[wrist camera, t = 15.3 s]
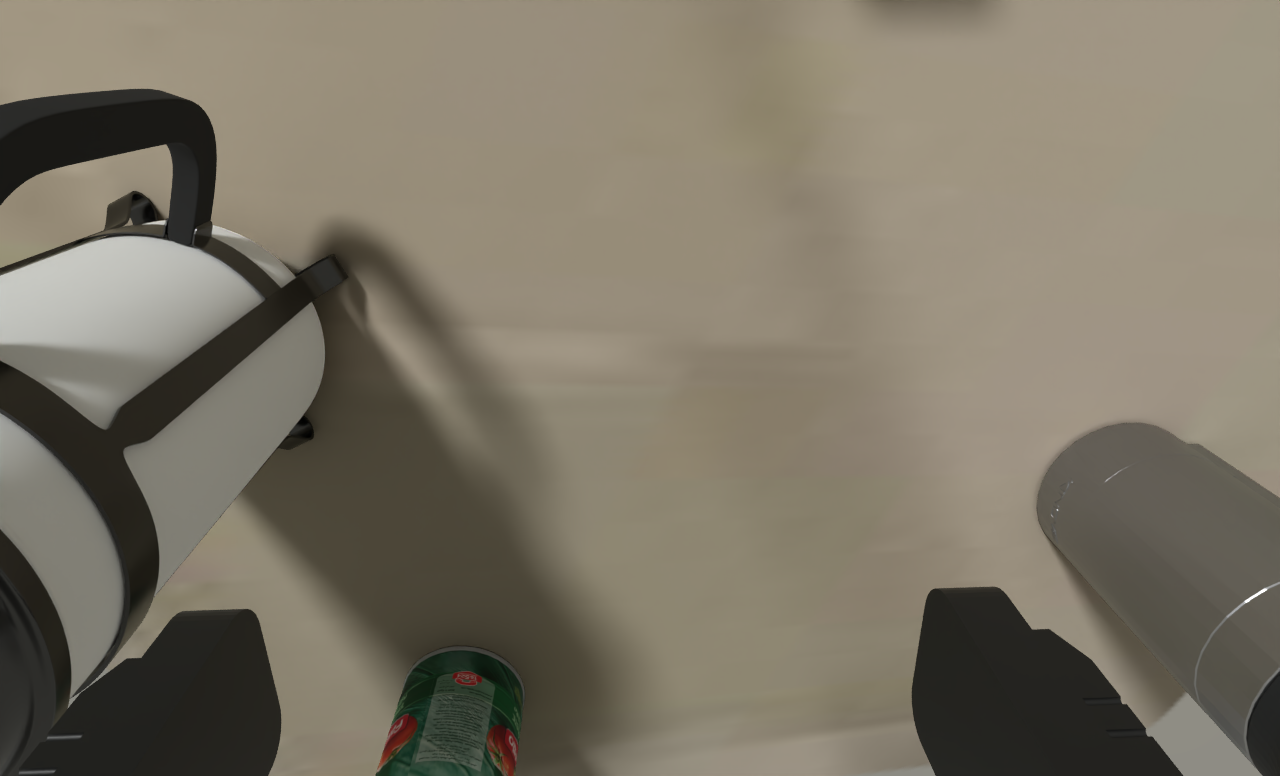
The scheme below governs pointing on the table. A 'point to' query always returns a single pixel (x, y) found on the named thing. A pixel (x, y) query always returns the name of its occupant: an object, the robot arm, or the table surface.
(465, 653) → the canned tomato
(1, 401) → the coffee press
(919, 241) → the table surface
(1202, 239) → the table surface
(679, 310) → the table surface
